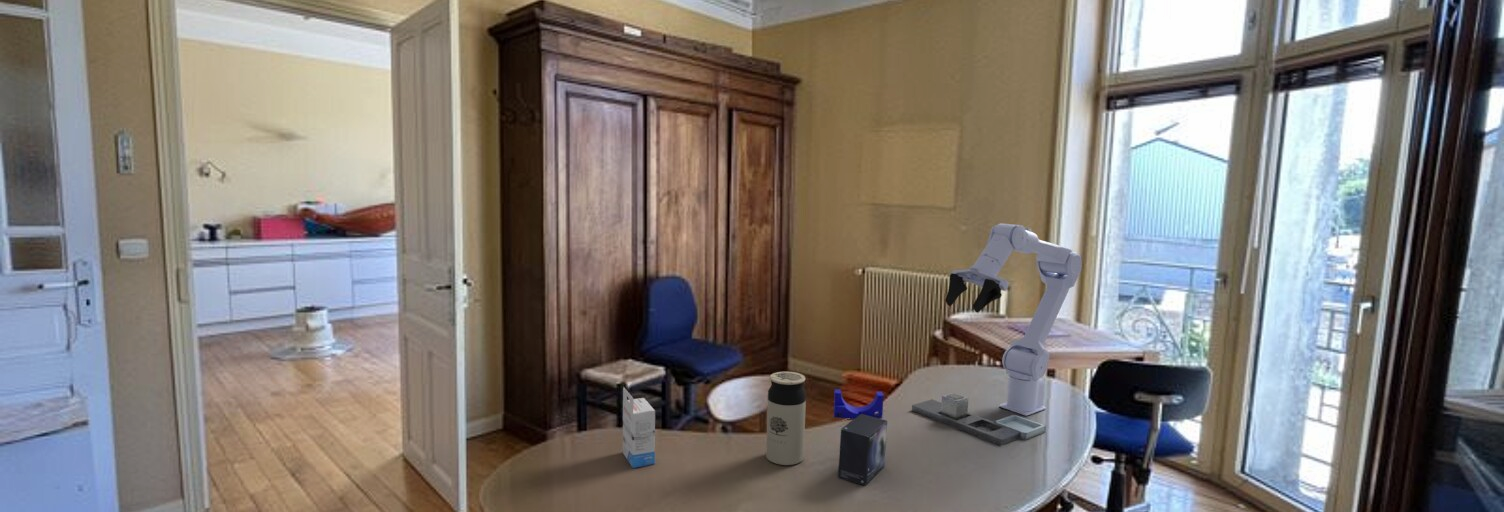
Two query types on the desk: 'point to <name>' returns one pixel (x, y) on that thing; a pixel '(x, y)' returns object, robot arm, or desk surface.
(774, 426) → the travel mug
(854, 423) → the small box
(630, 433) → the ink box
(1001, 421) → the parts tray
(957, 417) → the grey rectangular block
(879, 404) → the blue cradle stand
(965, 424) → the rail
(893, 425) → the desk surface
